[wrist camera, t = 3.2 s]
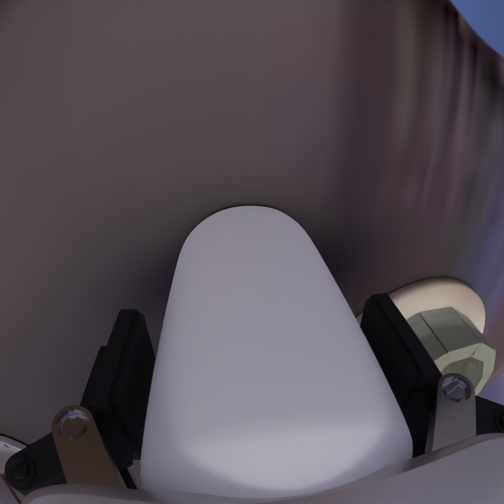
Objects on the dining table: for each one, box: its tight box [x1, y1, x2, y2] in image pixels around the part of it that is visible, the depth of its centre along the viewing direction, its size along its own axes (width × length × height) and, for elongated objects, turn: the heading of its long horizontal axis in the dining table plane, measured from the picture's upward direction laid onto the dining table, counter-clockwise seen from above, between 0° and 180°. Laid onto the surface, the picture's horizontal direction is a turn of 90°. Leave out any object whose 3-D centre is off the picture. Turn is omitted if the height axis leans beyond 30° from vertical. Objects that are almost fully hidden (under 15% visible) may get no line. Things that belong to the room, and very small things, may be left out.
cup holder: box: [356, 277, 496, 395], centre depth 17 cm, size 13×13×4 cm
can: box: [140, 206, 413, 498], centre depth 10 cm, size 6×6×12 cm
